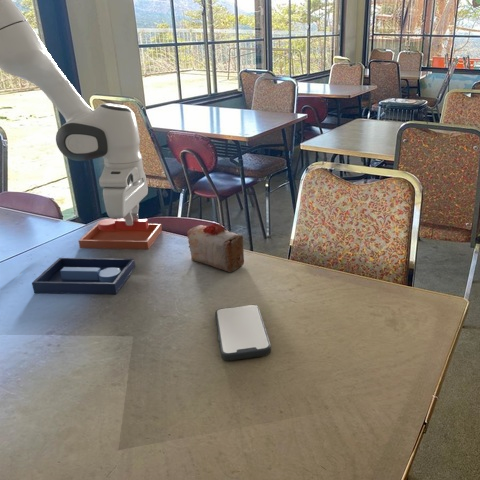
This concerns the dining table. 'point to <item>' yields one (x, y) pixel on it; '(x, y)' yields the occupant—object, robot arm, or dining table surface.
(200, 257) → the food item
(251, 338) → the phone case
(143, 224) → the red spoon
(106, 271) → the blue spoon
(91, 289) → the navy tray
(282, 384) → the dining table surface
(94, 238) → the terracotta tray
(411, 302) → the dining table surface
